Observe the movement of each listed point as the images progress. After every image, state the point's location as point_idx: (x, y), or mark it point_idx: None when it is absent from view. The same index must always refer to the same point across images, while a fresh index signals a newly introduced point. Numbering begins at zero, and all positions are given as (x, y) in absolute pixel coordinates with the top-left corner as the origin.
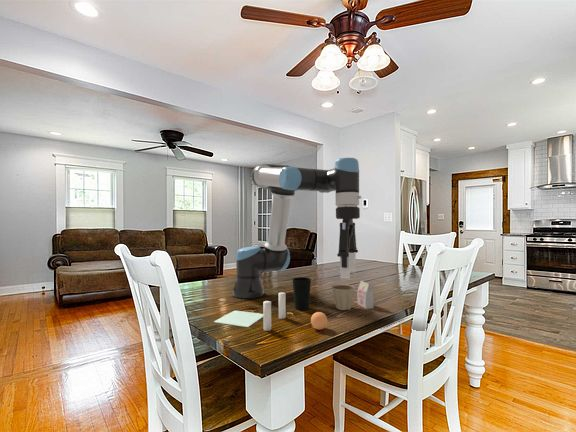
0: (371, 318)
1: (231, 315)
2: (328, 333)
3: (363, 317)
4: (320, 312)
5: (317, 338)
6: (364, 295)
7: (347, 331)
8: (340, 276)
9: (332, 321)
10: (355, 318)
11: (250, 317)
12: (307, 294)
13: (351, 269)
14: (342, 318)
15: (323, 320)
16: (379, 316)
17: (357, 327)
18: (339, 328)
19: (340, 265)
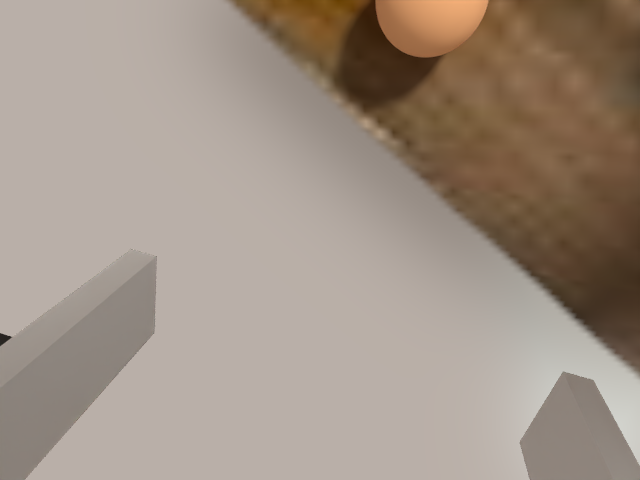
0: (606, 302)
1: None
2: (369, 63)
3: (629, 267)
4: (434, 4)
5: (295, 5)
6: None
7: (405, 163)
8: (119, 258)
9: (570, 83)
10: (616, 223)
11: None
12: None
13: (548, 437)
14: (625, 148)
15: (385, 32)
16: (636, 345)
17: (464, 216)
18: (446, 124)
19: (18, 337)
